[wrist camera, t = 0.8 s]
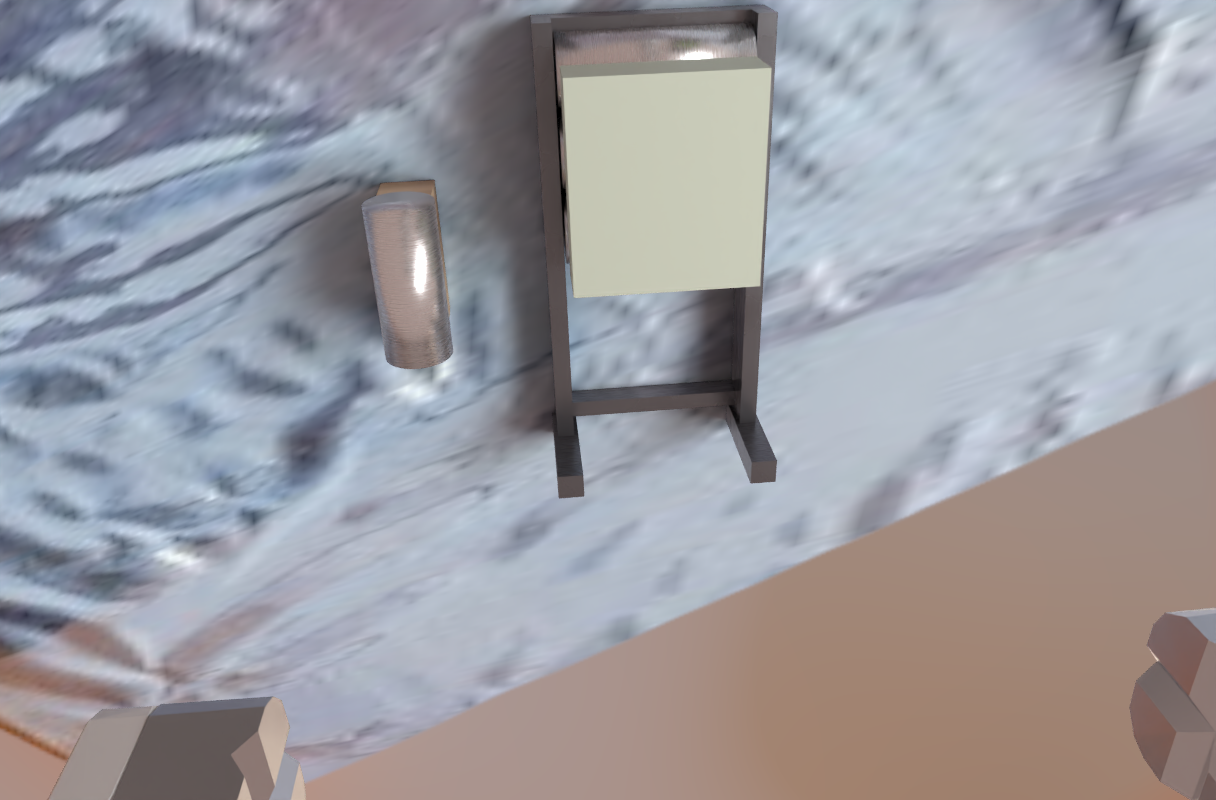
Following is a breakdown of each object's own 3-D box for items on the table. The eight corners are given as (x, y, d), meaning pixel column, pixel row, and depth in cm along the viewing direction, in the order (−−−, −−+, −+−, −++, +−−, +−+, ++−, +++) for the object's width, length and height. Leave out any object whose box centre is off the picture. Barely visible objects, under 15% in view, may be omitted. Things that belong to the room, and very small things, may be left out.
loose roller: (366, 193, 41) (356, 216, 38) (437, 189, 41) (432, 211, 39) (389, 341, 44) (382, 371, 42) (454, 336, 45) (451, 366, 42)
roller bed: (525, 15, 40) (528, 38, 35) (768, 4, 41) (806, 25, 36) (553, 432, 51) (558, 498, 45) (748, 418, 51) (775, 481, 46)
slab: (559, 65, 38) (562, 78, 36) (756, 56, 39) (771, 68, 37) (570, 275, 43) (573, 298, 41) (747, 264, 43) (760, 286, 41)
